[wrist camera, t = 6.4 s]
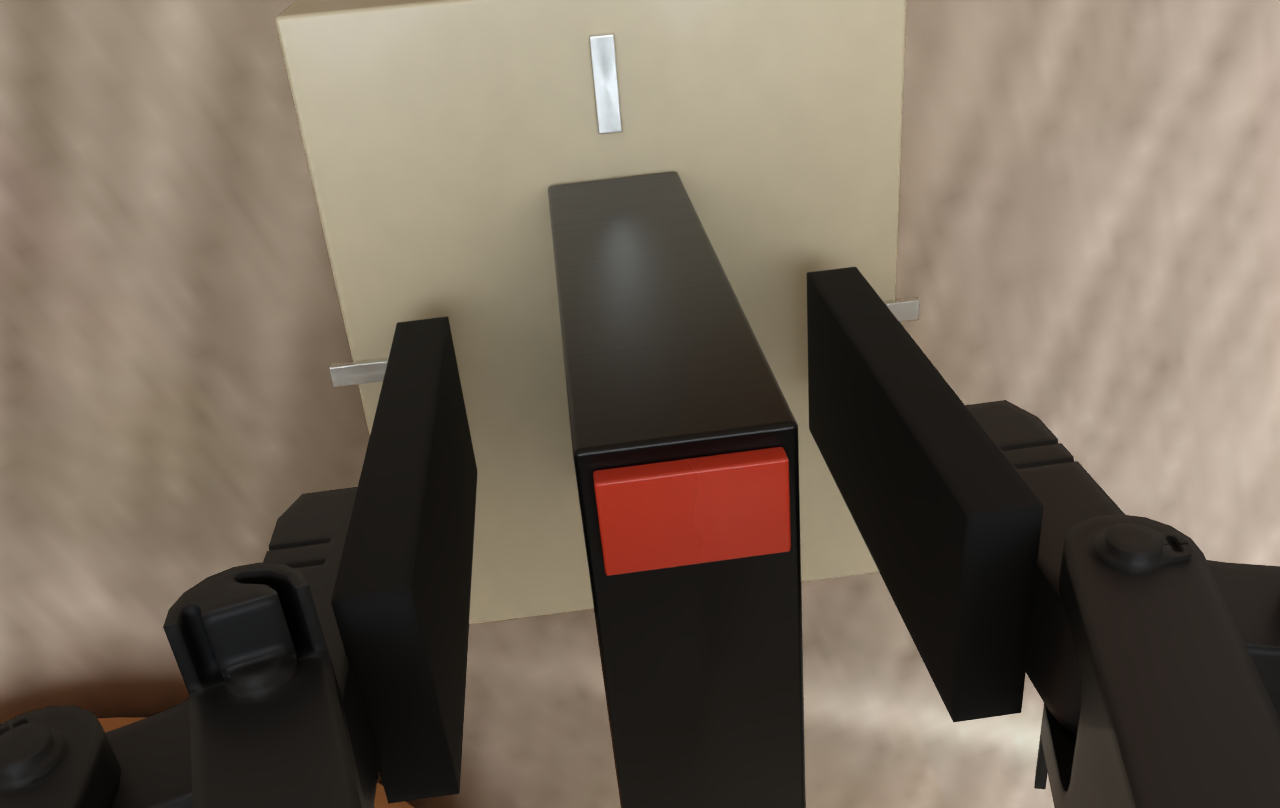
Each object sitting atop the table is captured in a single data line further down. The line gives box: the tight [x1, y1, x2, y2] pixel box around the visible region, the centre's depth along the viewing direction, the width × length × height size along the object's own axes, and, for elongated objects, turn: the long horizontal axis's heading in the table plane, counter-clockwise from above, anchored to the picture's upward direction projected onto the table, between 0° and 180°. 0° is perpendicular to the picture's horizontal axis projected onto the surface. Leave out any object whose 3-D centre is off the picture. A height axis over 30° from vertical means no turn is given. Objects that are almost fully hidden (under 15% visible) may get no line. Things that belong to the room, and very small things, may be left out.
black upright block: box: [548, 172, 806, 808], centre depth 14 cm, size 6×2×8 cm, turn 5°
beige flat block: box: [275, 0, 920, 625], centre depth 19 cm, size 11×10×3 cm
